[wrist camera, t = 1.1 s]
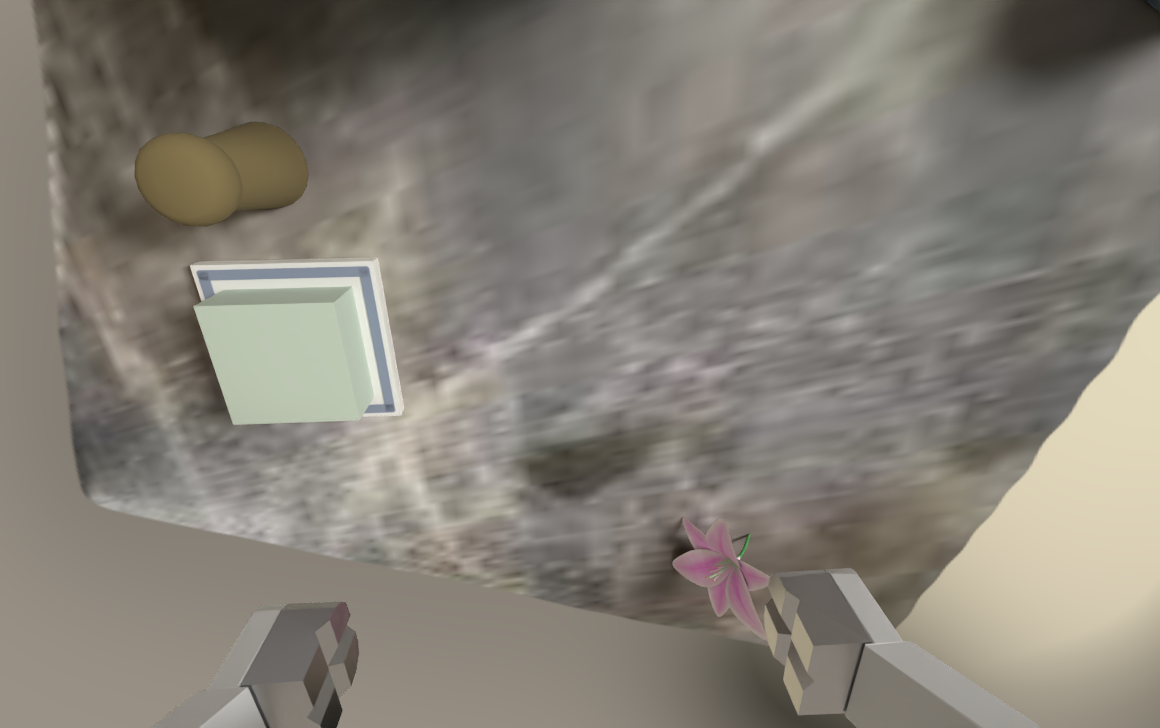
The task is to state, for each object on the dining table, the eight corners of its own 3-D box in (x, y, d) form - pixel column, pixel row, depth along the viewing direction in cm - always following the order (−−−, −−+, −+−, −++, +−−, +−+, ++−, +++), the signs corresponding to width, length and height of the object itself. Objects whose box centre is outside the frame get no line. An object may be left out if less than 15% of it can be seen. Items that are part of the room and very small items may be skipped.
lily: (720, 466, 55) (694, 533, 48) (820, 535, 54) (809, 615, 46) (664, 523, 63) (634, 588, 55) (750, 585, 61) (731, 660, 54)
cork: (291, 116, 39) (201, 118, 29) (319, 202, 41) (245, 231, 31) (208, 127, 39) (90, 133, 29) (241, 213, 41) (143, 245, 31)
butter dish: (199, 261, 43) (155, 280, 38) (377, 257, 43) (356, 275, 38) (247, 414, 49) (215, 446, 44) (404, 408, 49) (388, 440, 44)
